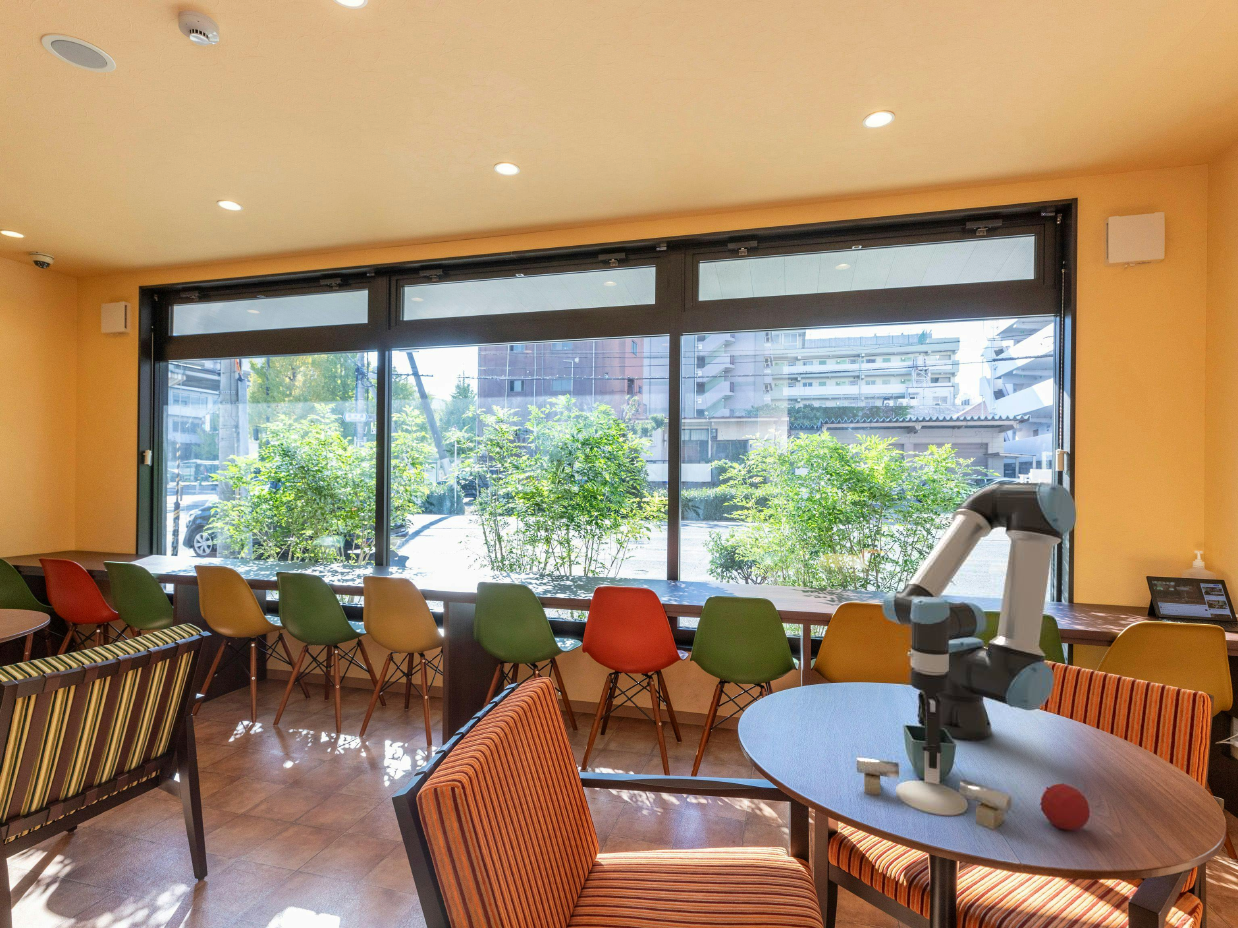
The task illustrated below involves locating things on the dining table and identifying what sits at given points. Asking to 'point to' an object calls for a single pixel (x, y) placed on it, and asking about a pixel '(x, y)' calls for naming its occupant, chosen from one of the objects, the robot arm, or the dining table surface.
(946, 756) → the flower pot
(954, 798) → the seat pad
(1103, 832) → the dining table surface
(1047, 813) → the tomato
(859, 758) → the shaft
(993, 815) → the shaft
